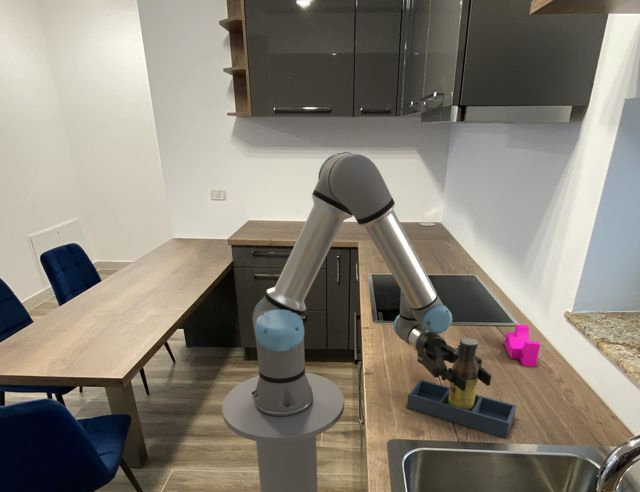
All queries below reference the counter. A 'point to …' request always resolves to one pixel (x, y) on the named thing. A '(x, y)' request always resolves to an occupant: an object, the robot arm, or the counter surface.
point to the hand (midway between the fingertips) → (476, 383)
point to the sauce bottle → (465, 375)
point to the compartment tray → (482, 417)
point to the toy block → (522, 346)
